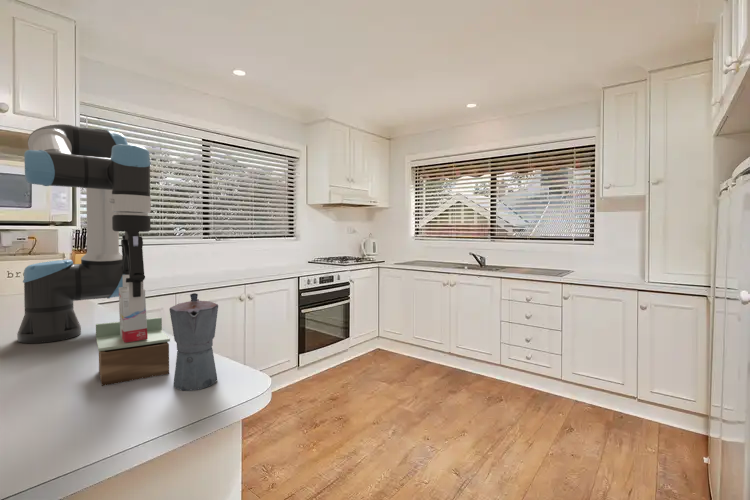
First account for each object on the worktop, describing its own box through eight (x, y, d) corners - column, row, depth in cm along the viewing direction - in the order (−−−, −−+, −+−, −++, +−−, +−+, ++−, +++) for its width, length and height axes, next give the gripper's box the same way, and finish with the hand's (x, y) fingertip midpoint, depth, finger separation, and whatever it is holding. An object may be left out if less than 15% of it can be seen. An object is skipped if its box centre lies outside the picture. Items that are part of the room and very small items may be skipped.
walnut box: (99, 371, 94) (98, 341, 93) (161, 361, 101) (160, 333, 101) (101, 386, 85) (101, 353, 84) (169, 373, 93) (168, 344, 92)
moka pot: (170, 399, 79) (169, 299, 78) (170, 374, 92) (169, 288, 91) (221, 391, 83) (221, 296, 82) (214, 368, 97) (213, 286, 96)
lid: (96, 339, 94) (95, 324, 94) (161, 330, 103) (161, 317, 103) (98, 351, 85) (98, 334, 85) (169, 341, 93) (169, 326, 93)
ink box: (147, 340, 92) (147, 289, 91) (122, 344, 89) (121, 291, 88) (142, 332, 99) (142, 285, 98) (118, 335, 96) (117, 286, 95)
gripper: (108, 214, 99) (109, 298, 100) (116, 213, 79) (118, 318, 80) (142, 215, 104) (143, 296, 105) (159, 214, 84) (159, 314, 85)
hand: (132, 305), depth 93 cm, fingers open, 13 cm apart
